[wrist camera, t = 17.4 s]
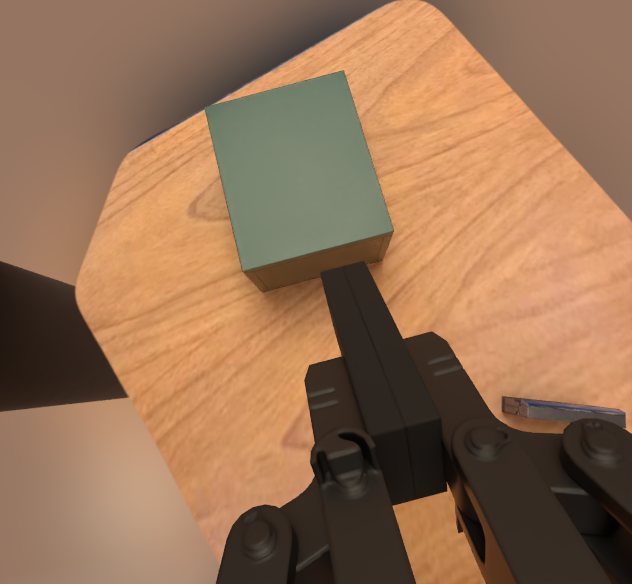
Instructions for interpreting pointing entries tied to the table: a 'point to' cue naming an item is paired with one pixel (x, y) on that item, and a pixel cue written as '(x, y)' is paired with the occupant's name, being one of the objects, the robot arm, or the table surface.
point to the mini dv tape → (561, 411)
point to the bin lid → (296, 172)
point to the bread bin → (318, 264)
